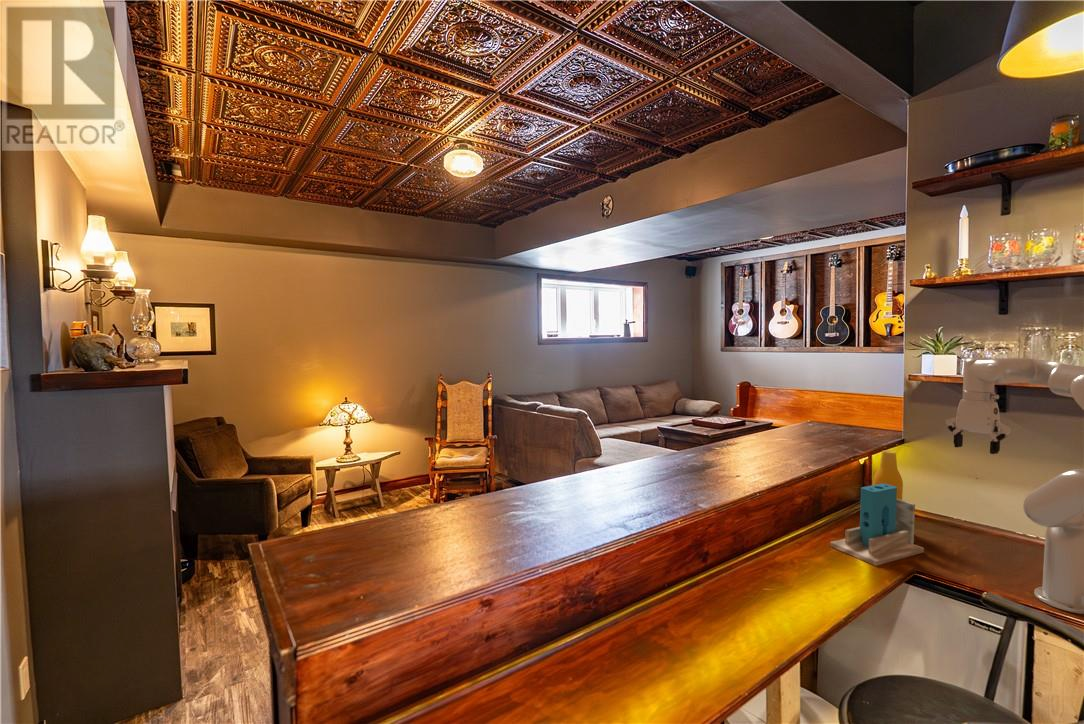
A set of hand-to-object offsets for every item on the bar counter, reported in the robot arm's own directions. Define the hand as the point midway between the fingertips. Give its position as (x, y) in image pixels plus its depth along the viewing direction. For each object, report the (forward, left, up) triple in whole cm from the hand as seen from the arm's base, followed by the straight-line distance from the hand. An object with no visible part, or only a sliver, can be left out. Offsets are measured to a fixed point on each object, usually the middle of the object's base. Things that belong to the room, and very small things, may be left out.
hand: (975, 450), depth 161 cm
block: (+18, +19, -35) cm, 44 cm away
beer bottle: (+29, -3, -36) cm, 47 cm away
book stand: (+18, +19, -36) cm, 45 cm away
